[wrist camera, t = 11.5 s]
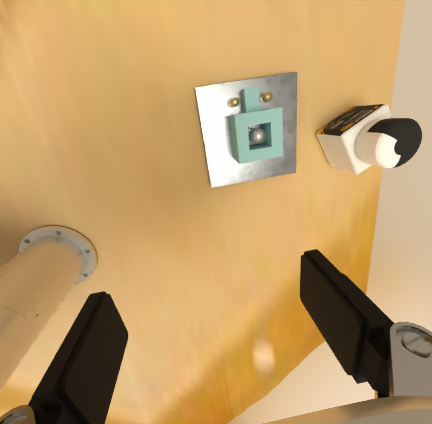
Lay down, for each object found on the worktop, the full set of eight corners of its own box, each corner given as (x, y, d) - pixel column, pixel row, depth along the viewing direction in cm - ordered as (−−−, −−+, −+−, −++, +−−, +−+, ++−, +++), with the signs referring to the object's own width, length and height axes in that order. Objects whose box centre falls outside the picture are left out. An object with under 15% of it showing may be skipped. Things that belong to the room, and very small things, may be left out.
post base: (292, 170, 38) (309, 179, 33) (210, 185, 37) (214, 196, 32) (292, 73, 32) (313, 64, 27) (195, 88, 31) (196, 82, 26)
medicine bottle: (351, 105, 35) (425, 99, 24) (364, 142, 38) (436, 151, 27) (314, 132, 36) (368, 138, 25) (329, 166, 39) (384, 184, 28)
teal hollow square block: (270, 151, 35) (283, 156, 30) (232, 158, 35) (239, 164, 30) (268, 86, 31) (281, 80, 26) (225, 93, 31) (231, 88, 26)
